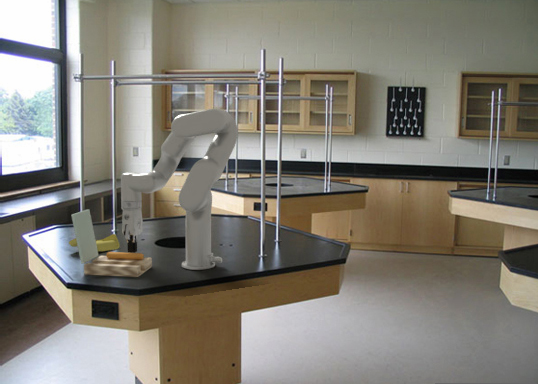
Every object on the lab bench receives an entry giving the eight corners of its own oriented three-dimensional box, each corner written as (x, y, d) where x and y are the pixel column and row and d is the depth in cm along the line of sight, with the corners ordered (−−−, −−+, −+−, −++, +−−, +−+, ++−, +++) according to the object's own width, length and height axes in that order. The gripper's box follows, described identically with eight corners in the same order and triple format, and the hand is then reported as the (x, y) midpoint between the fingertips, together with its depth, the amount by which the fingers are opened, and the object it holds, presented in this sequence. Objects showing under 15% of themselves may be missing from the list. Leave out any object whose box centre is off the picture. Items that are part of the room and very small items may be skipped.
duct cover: (89, 209, 204) (86, 209, 204) (73, 214, 192) (71, 214, 192) (98, 255, 206) (96, 256, 206) (83, 263, 194) (81, 263, 194)
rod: (144, 259, 202) (144, 252, 202) (142, 260, 200) (142, 254, 199) (108, 257, 204) (107, 251, 204) (105, 258, 202) (105, 252, 201)
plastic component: (102, 239, 241) (116, 232, 236) (107, 255, 240) (121, 248, 235) (64, 244, 225) (78, 236, 219) (68, 261, 223) (82, 253, 218)
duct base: (151, 266, 205) (151, 257, 204) (138, 276, 191) (137, 267, 190) (101, 264, 207) (101, 255, 207) (84, 274, 193) (83, 264, 193)
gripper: (133, 208, 199) (134, 257, 201) (147, 202, 214) (148, 248, 216) (114, 207, 200) (115, 256, 202) (129, 201, 215) (130, 247, 217)
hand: (132, 251), depth 209 cm, fingers closed
